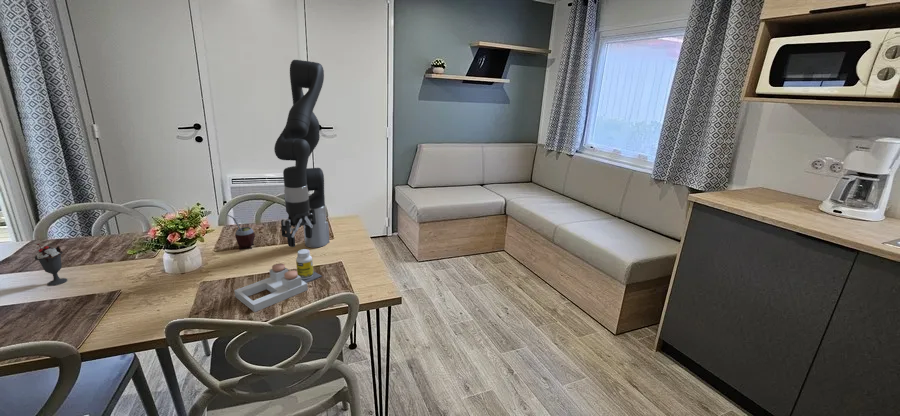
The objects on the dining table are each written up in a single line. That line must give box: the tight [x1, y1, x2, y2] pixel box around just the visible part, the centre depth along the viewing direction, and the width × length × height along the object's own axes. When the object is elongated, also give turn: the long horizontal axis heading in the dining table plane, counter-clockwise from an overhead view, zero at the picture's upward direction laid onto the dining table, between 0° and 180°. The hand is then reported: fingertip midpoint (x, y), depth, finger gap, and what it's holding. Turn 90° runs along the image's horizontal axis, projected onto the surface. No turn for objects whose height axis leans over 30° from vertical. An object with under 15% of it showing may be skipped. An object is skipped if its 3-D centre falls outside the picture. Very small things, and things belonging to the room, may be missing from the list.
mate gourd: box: [226, 213, 256, 250], centre depth 161 cm, size 8×8×15 cm
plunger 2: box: [284, 270, 298, 280], centre depth 129 cm, size 4×4×4 cm
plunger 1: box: [271, 262, 286, 272], centre depth 134 cm, size 4×4×4 cm
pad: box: [301, 270, 323, 284], centre depth 140 cm, size 8×8×1 cm
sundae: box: [34, 243, 68, 287], centre depth 129 cm, size 7×7×15 cm
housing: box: [233, 267, 309, 313], centre depth 128 cm, size 18×13×6 cm
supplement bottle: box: [295, 248, 314, 279], centre depth 139 cm, size 5×5×10 cm
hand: (300, 241), depth 136 cm, fingers open, 8 cm apart
